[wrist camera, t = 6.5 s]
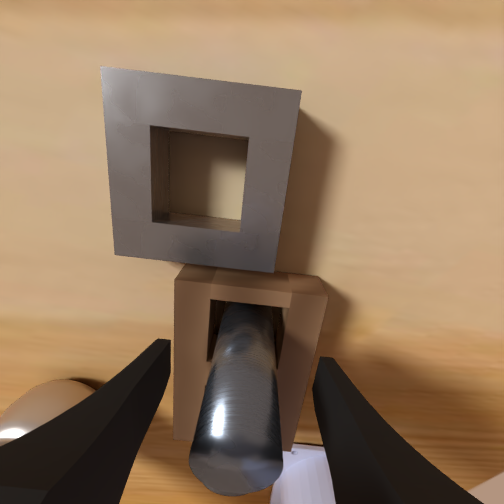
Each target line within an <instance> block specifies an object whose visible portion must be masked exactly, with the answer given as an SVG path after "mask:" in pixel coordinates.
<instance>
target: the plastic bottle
mask: <svg viewBox="0 0 504 504" xmlns="http://www.w3.org/2000/svg"><path fill="white" fill-rule="evenodd" d="M95 391H96V390H94V389H93V388H91V387H89V386H87V385H85V384H83V383H80V382H77V381H73V380H64V379H60V380H53V381H50V382H47V383H44V384H41V385H38V386H35V387H34V388H32V389H30V390H29V391H28V392H26V393H25V394H24V395H23V396H21V397H20V398H19V399H18V400H16V401H15V402H14V403H12V404H11V405H10V406H9V407H8V408H7V409H6V410H5V411H4V413H3V414H2V415H1V416H0V446H2V445H4V444H6V443H9V442H11V441H13V440H15V439H17V438H19V437H20V436H22V435H24V434H26V433H28V432H30V431H32V430H34V429H36V428H37V427H39V426H41V425H43V424H45V423H46V422H48V421H50V420H52V419H53V418H55V417H57V416H58V415H60V414H62V413H63V412H65V411H66V410H68V409H70V408H71V407H73V406H75V405H76V404H78V403H79V402H81V401H82V400H84V399H85V398H87V397H88V396H89V395H91V394H92V393H94V392H95Z"/></svg>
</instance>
